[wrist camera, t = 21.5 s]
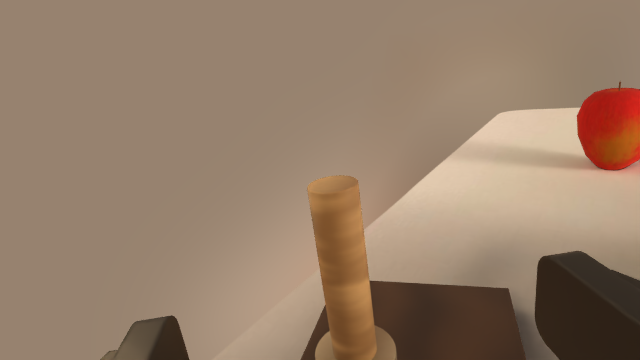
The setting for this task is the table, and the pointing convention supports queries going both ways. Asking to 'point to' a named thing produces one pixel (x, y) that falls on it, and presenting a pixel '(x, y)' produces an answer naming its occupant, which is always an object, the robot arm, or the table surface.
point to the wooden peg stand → (345, 274)
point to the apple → (611, 127)
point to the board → (440, 322)
